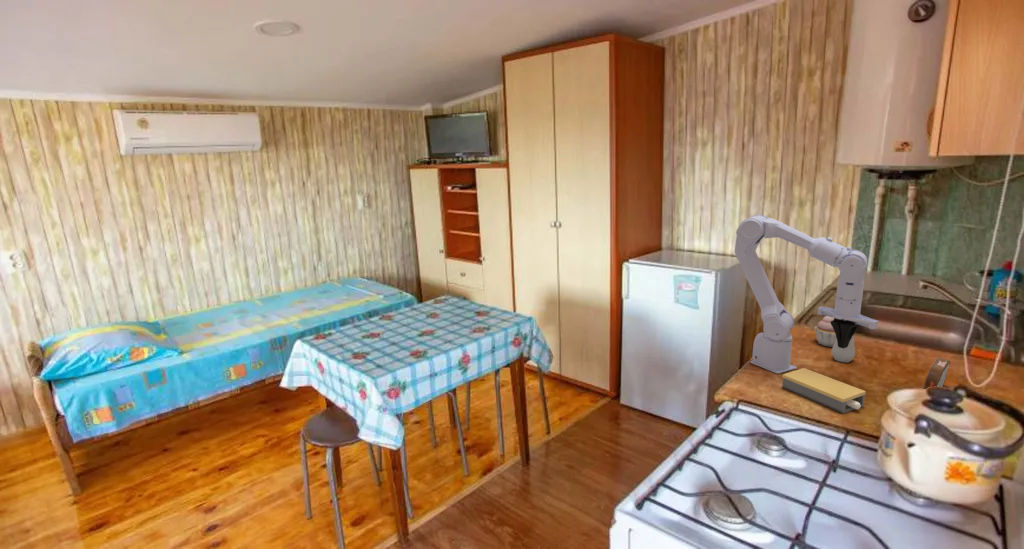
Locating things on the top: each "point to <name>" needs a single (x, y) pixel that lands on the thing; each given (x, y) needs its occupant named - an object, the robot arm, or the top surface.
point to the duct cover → (824, 385)
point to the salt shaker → (844, 351)
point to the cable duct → (824, 398)
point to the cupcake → (825, 332)
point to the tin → (937, 373)
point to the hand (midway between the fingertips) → (842, 347)
